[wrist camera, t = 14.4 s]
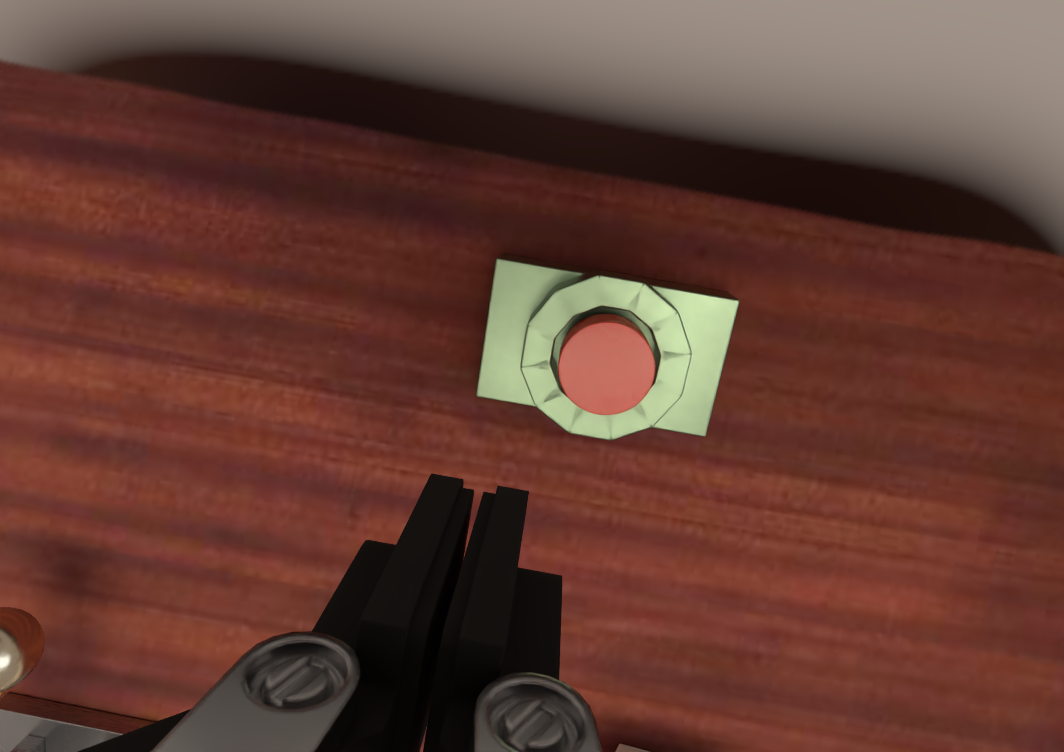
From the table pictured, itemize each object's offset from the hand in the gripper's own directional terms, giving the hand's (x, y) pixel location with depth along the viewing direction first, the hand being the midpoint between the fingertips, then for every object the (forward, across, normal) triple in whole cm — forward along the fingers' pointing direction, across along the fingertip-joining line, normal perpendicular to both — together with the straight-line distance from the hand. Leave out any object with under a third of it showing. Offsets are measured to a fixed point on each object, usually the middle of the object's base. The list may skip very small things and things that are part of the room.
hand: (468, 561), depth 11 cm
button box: (+20, -3, 0) cm, 20 cm away
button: (+16, -3, 0) cm, 16 cm away
